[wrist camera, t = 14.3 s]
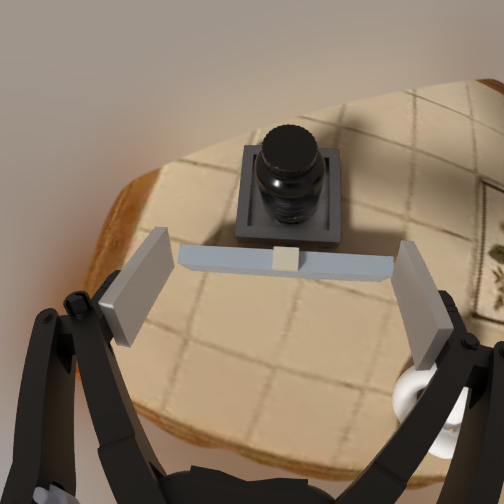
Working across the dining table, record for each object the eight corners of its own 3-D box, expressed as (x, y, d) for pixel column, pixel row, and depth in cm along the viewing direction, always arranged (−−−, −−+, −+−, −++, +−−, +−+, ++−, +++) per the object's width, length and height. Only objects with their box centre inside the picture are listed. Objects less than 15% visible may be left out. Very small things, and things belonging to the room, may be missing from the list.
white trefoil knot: (399, 467, 29) (424, 499, 20) (350, 407, 31) (368, 433, 23) (465, 408, 29) (502, 425, 20) (423, 344, 32) (459, 350, 23)
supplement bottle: (258, 176, 38) (244, 119, 26) (312, 168, 37) (319, 109, 26) (266, 229, 36) (255, 187, 25) (324, 220, 36) (339, 175, 24)
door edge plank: (380, 264, 34) (397, 253, 28) (379, 282, 34) (397, 275, 28) (193, 253, 37) (176, 241, 31) (191, 270, 37) (173, 261, 31)
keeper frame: (336, 159, 38) (339, 149, 35) (337, 247, 35) (340, 242, 33) (246, 155, 39) (244, 145, 37) (238, 241, 37) (234, 236, 34)
